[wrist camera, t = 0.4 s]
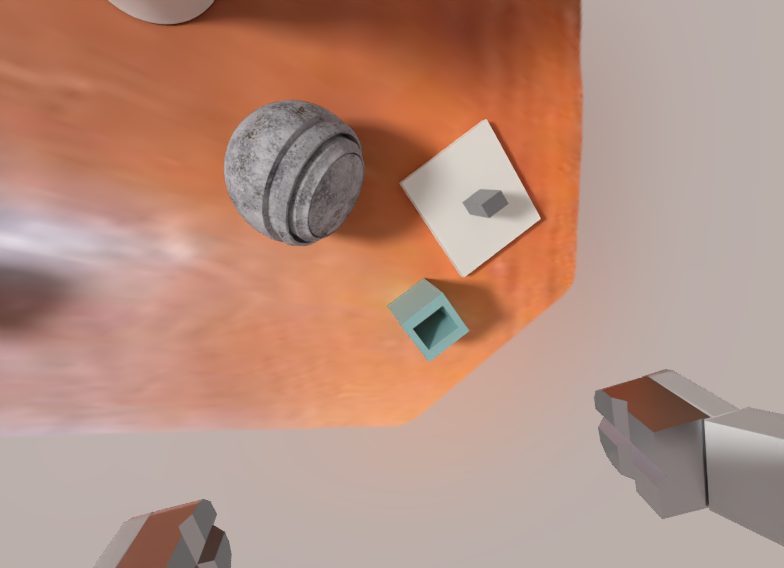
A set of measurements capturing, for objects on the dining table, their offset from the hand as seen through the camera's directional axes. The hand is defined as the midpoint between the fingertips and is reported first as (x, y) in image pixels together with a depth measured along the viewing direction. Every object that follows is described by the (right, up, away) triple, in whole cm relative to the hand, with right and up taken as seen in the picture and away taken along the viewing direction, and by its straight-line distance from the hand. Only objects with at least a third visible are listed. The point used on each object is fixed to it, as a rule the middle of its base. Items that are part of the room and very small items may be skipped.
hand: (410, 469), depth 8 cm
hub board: (+11, +15, +48) cm, 52 cm away
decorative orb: (-12, +17, +43) cm, 48 cm away
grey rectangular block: (+11, +15, +47) cm, 50 cm away
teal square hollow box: (+3, 0, +50) cm, 51 cm away
